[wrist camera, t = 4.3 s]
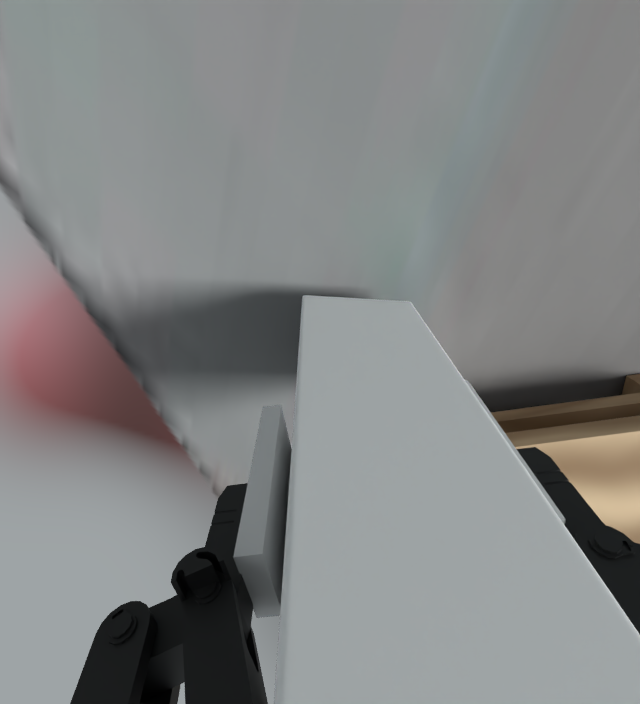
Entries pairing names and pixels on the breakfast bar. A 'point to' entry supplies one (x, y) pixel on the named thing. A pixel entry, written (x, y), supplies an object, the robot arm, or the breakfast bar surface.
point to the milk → (426, 538)
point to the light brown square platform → (590, 449)
